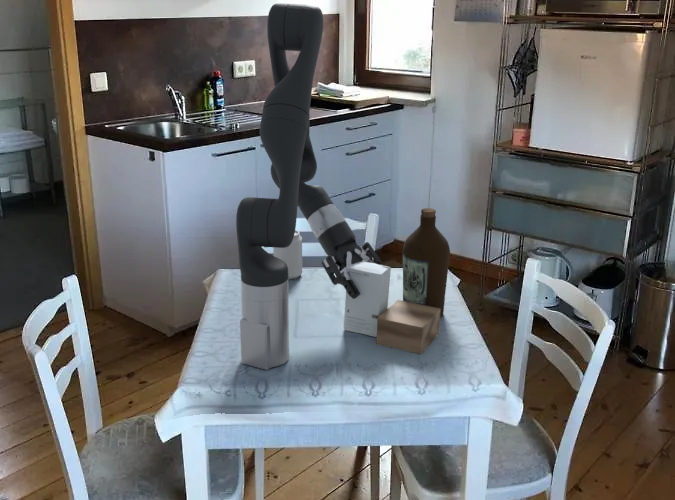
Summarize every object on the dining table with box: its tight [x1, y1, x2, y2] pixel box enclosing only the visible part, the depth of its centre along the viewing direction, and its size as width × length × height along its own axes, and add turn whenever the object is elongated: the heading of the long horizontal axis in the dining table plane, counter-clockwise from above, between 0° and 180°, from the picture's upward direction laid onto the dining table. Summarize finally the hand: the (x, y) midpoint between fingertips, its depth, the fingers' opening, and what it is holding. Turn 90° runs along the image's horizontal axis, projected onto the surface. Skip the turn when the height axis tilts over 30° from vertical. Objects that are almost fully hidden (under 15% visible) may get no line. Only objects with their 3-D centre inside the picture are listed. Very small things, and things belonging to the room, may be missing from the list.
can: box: [272, 229, 303, 280], centre depth 191 cm, size 8×8×12 cm
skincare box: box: [343, 260, 392, 338], centre depth 160 cm, size 8×6×15 cm
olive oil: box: [401, 207, 451, 319], centre depth 166 cm, size 11×11×25 cm
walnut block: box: [376, 299, 441, 355], centre depth 157 cm, size 11×10×6 cm
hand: (369, 291), depth 159 cm, fingers open, 8 cm apart
